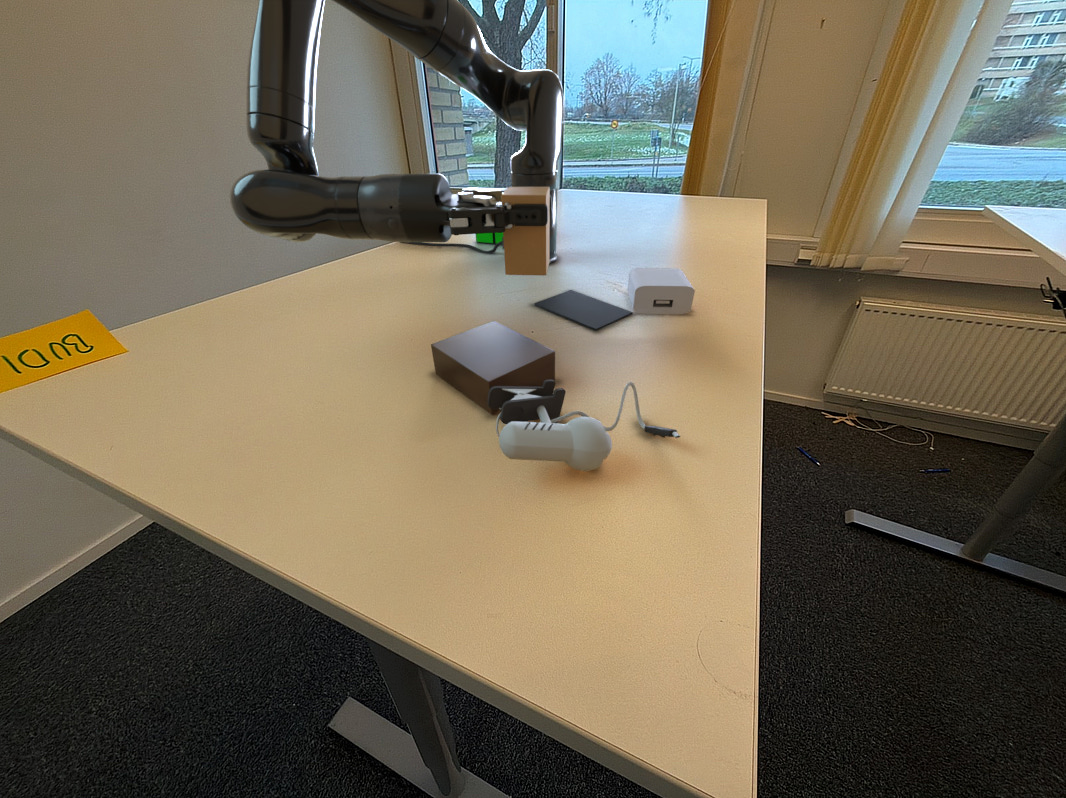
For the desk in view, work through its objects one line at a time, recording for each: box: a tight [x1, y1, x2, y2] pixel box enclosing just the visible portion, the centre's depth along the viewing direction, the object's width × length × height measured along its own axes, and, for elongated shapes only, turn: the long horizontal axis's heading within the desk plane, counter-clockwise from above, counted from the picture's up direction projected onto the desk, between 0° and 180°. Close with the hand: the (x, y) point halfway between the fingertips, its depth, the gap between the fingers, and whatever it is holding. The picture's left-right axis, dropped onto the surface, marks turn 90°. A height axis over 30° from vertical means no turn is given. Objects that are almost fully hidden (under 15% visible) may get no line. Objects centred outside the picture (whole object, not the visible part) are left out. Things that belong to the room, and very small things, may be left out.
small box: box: [501, 186, 550, 277], centre depth 52 cm, size 5×5×9 cm
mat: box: [533, 289, 634, 332], centre depth 73 cm, size 14×9×1 cm, turn 42°
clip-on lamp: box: [487, 380, 681, 472], centre depth 44 cm, size 12×6×18 cm
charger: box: [626, 267, 696, 315], centre depth 76 cm, size 5×9×15 cm
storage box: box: [430, 320, 556, 416], centre depth 55 cm, size 12×10×4 cm
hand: (548, 209), depth 51 cm, fingers closed on small box, 5 cm apart
